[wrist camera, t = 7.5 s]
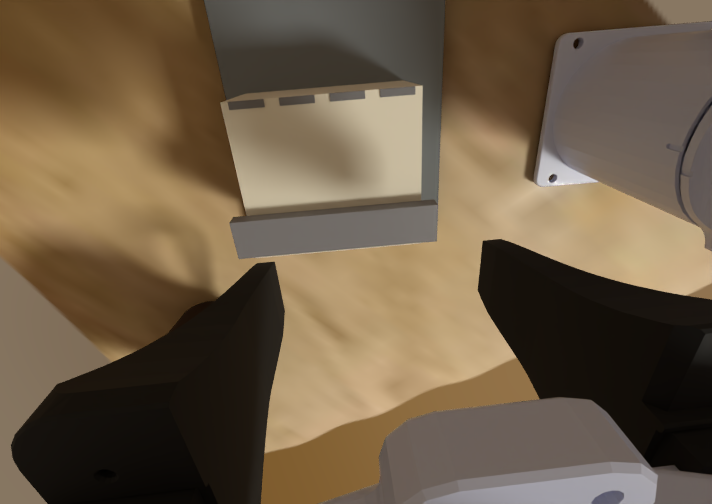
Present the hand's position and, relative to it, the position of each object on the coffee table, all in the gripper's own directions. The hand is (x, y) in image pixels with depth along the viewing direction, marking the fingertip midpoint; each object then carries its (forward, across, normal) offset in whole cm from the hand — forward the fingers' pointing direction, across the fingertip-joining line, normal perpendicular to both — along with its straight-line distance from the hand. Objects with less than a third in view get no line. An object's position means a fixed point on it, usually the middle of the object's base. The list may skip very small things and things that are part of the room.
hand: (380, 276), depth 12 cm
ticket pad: (+9, +1, -2) cm, 10 cm away
